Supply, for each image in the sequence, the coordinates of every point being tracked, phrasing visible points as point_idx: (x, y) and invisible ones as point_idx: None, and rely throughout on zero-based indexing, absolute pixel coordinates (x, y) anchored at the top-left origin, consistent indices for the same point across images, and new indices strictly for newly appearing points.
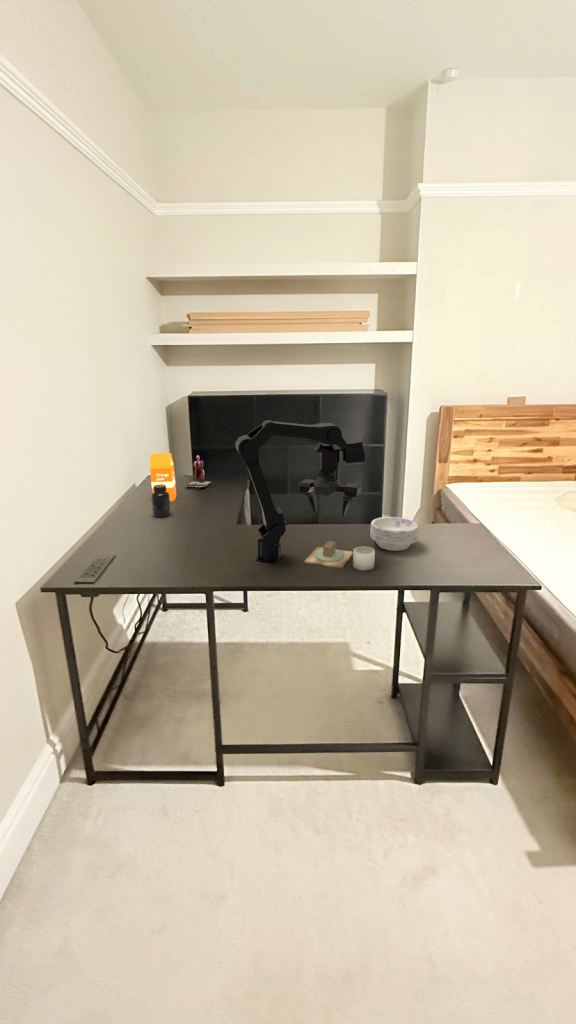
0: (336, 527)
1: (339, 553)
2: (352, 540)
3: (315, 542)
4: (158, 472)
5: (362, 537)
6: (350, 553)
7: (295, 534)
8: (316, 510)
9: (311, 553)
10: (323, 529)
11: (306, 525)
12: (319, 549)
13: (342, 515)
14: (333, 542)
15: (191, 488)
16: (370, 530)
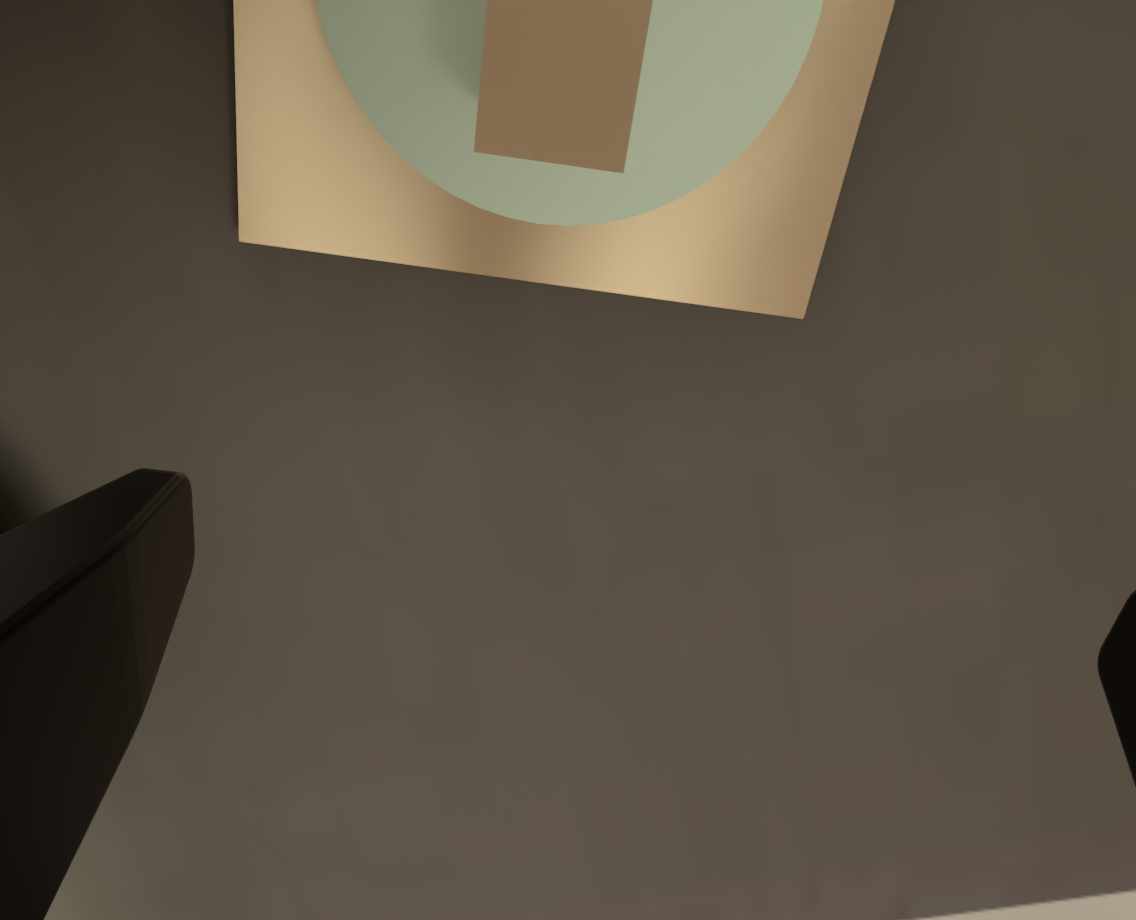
0: (635, 907)
1: (399, 33)
2: (379, 641)
3: (841, 503)
4: None
5: (288, 734)
6: (260, 168)
7: None
8: (1121, 699)
9: (885, 24)
10: (772, 846)
11: (971, 902)
12: (765, 222)
13: (172, 475)
14: (508, 117)
15: None
16: None
